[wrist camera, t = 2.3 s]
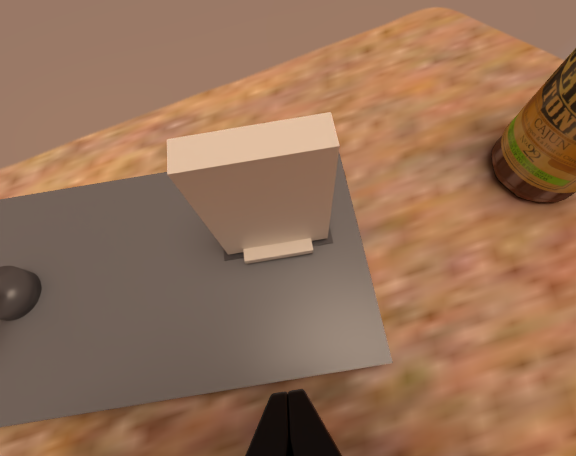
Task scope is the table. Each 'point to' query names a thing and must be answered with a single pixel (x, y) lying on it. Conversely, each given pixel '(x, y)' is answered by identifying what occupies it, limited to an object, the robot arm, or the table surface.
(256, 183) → the ivory paddle
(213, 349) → the switch panel
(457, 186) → the table surface
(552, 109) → the sauce bottle
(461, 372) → the table surface
